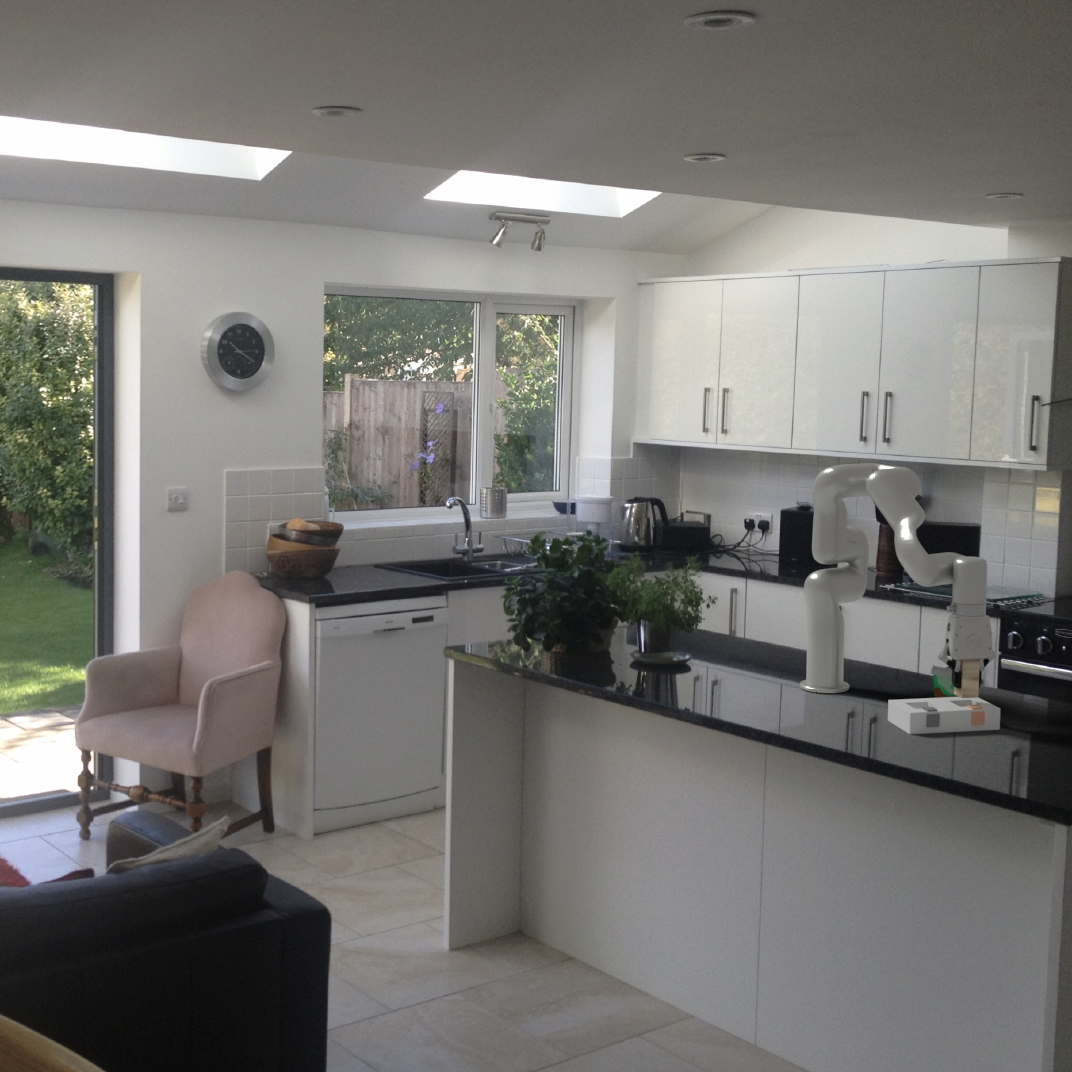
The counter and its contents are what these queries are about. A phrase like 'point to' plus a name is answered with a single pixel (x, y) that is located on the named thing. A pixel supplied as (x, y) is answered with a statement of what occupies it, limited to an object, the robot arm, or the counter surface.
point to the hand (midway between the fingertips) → (966, 686)
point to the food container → (943, 682)
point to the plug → (969, 679)
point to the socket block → (943, 715)
